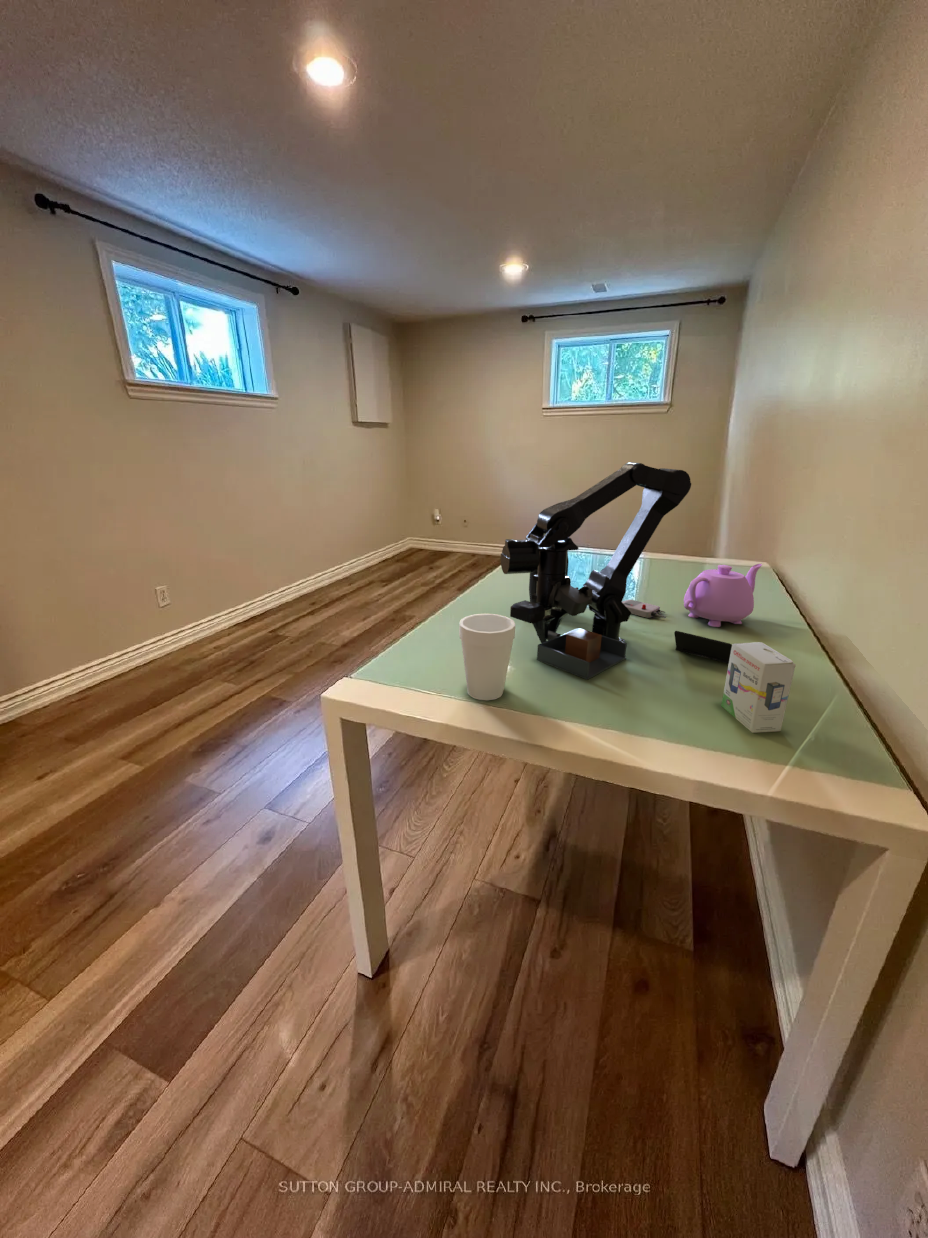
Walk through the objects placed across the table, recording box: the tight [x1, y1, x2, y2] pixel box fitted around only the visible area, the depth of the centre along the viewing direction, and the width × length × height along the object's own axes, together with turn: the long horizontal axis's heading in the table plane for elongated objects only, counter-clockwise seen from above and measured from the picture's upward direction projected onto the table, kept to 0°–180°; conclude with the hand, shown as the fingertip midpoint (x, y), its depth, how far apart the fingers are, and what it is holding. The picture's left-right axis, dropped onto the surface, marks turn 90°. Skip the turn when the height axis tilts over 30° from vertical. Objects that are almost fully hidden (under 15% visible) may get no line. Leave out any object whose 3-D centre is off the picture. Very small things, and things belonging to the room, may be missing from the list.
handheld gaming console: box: [673, 630, 733, 665], centre depth 101 cm, size 12×7×10 cm
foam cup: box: [458, 613, 516, 701], centre depth 85 cm, size 10×9×13 cm
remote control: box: [622, 599, 667, 619], centre depth 128 cm, size 7×16×3 cm, turn 45°
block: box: [565, 628, 602, 662], centre depth 99 cm, size 5×5×5 cm
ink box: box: [720, 641, 797, 734], centre depth 77 cm, size 9×5×12 cm, turn 5°
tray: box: [536, 627, 628, 681], centre depth 101 cm, size 14×17×4 cm
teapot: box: [683, 563, 763, 628], centre depth 122 cm, size 22×16×14 cm
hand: (546, 642), depth 105 cm, fingers closed on tray, 2 cm apart
